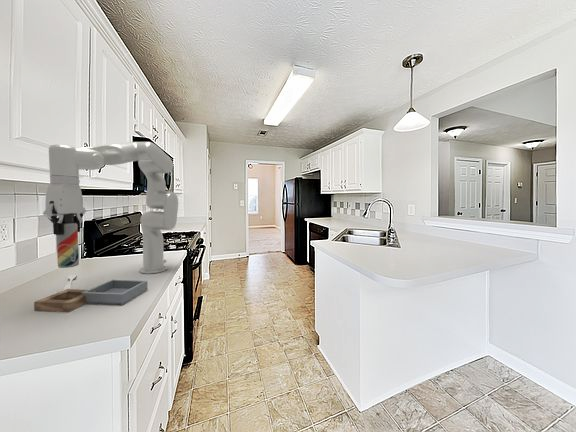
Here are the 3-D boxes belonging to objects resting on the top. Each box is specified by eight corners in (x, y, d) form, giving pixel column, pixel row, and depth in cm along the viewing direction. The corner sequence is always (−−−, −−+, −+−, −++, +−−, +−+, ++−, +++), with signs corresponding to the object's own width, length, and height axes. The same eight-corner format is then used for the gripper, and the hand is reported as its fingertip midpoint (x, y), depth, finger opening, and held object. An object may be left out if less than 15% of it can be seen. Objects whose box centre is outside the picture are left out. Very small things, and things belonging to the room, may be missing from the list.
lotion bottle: (66, 268, 85) (63, 210, 83) (53, 267, 86) (50, 210, 84) (83, 264, 90) (81, 210, 89) (70, 263, 91) (68, 209, 90)
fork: (61, 296, 101) (61, 290, 101) (70, 277, 118) (70, 271, 117) (71, 295, 103) (70, 289, 102) (78, 276, 119) (77, 270, 119)
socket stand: (67, 296, 94) (67, 289, 94) (97, 297, 94) (97, 290, 94) (34, 310, 82) (34, 301, 82) (69, 311, 82) (69, 303, 82)
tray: (112, 288, 104) (112, 279, 103) (147, 290, 103) (147, 280, 103) (81, 303, 89) (81, 292, 88) (122, 305, 88) (122, 294, 88)
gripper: (76, 183, 94) (78, 229, 96) (28, 179, 77) (31, 236, 79) (95, 183, 94) (97, 230, 95) (51, 180, 77) (54, 237, 78)
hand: (67, 232), depth 87 cm, fingers closed on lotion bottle, 5 cm apart
